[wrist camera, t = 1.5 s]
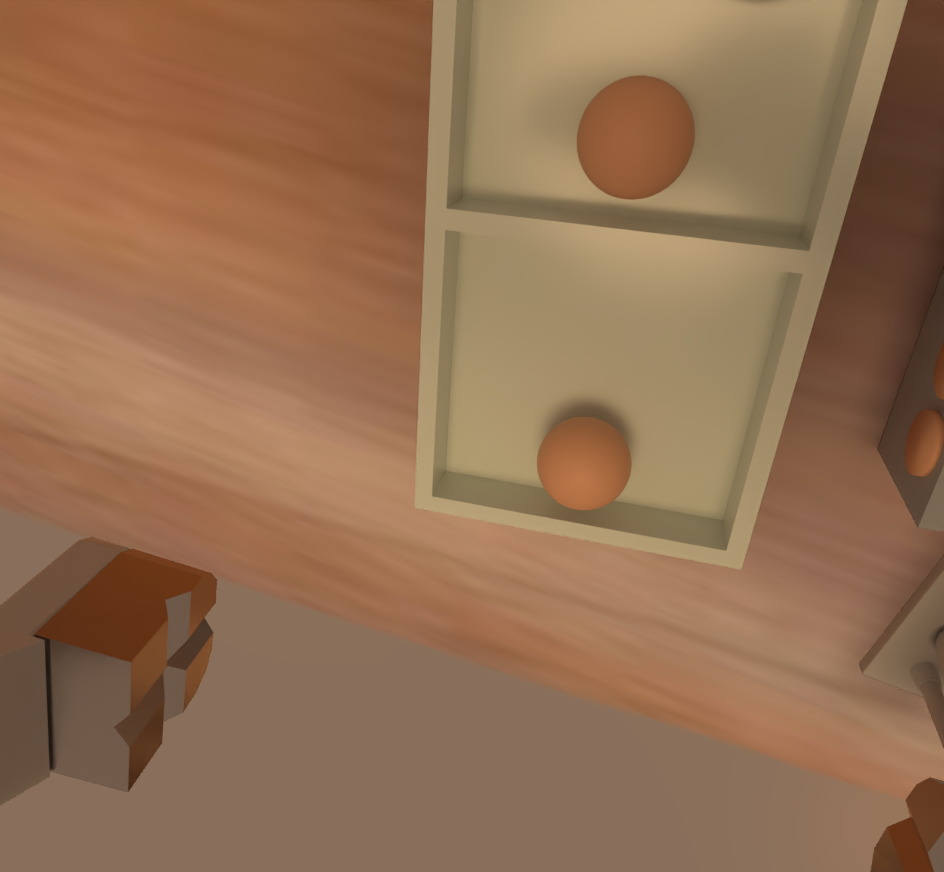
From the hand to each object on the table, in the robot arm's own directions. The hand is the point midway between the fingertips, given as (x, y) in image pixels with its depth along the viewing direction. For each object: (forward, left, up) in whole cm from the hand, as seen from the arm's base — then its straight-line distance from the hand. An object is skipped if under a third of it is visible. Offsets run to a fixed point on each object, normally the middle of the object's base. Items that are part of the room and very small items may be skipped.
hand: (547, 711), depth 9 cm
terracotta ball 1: (+1, +9, -24) cm, 26 cm away
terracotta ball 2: (+1, -4, -24) cm, 25 cm away
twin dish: (+1, 0, -25) cm, 25 cm away
